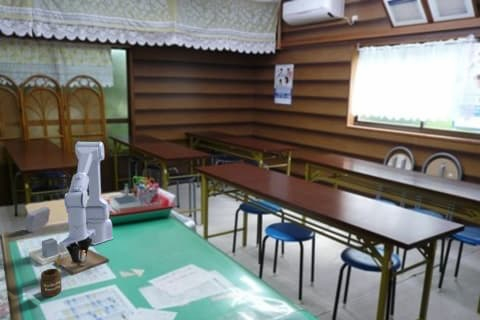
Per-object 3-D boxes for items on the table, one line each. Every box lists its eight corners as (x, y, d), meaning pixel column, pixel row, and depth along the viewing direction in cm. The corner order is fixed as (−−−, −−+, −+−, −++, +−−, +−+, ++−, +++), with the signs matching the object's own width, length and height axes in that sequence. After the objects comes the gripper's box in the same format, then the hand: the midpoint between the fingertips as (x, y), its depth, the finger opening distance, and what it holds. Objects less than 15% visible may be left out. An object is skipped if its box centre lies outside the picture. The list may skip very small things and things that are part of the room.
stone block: (34, 235, 165) (32, 213, 164) (25, 234, 166) (23, 212, 164) (52, 226, 177) (51, 206, 175) (43, 225, 178) (42, 205, 176)
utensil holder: (38, 292, 118) (35, 256, 116) (59, 285, 123) (56, 251, 121) (44, 299, 114) (41, 263, 112) (65, 292, 118) (63, 257, 116)
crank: (76, 258, 140) (75, 243, 139) (86, 256, 142) (85, 242, 141) (77, 267, 133) (76, 252, 132) (88, 265, 135) (87, 250, 134)
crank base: (89, 251, 149) (88, 249, 149) (109, 261, 141) (108, 258, 141) (54, 263, 139) (54, 260, 138) (73, 274, 130) (73, 271, 130)
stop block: (52, 252, 147) (52, 238, 146) (57, 255, 145) (56, 240, 144) (42, 255, 144) (41, 241, 143) (47, 258, 141) (46, 243, 140)
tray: (57, 248, 152) (57, 243, 152) (71, 255, 145) (71, 250, 145) (29, 256, 143) (28, 252, 143) (42, 265, 137) (42, 260, 136)
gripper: (84, 216, 140) (86, 250, 142) (51, 228, 127) (54, 266, 129) (99, 219, 137) (100, 253, 140) (67, 232, 124) (69, 270, 126)
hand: (79, 260), depth 134 cm, fingers open, 3 cm apart
